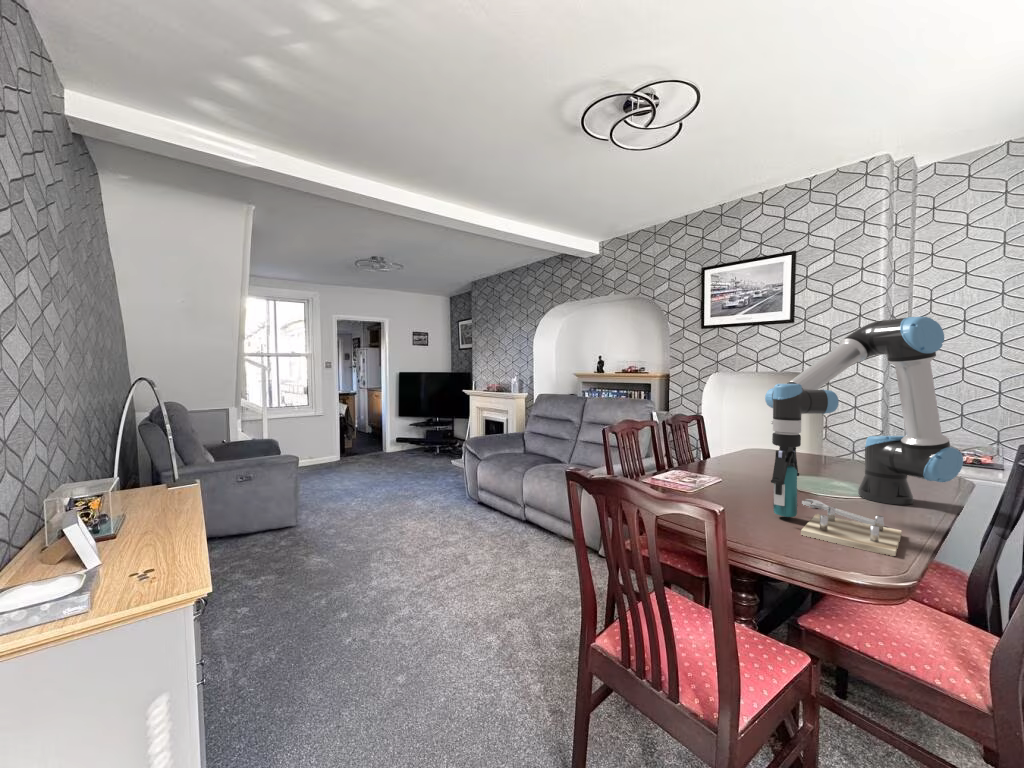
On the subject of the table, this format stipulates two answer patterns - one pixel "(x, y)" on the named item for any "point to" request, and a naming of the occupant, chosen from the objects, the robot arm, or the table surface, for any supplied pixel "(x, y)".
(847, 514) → the adjustable wrench
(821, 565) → the table surface
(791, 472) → the beverage bottle
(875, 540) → the steel pegs
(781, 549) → the table surface
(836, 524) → the birch board
